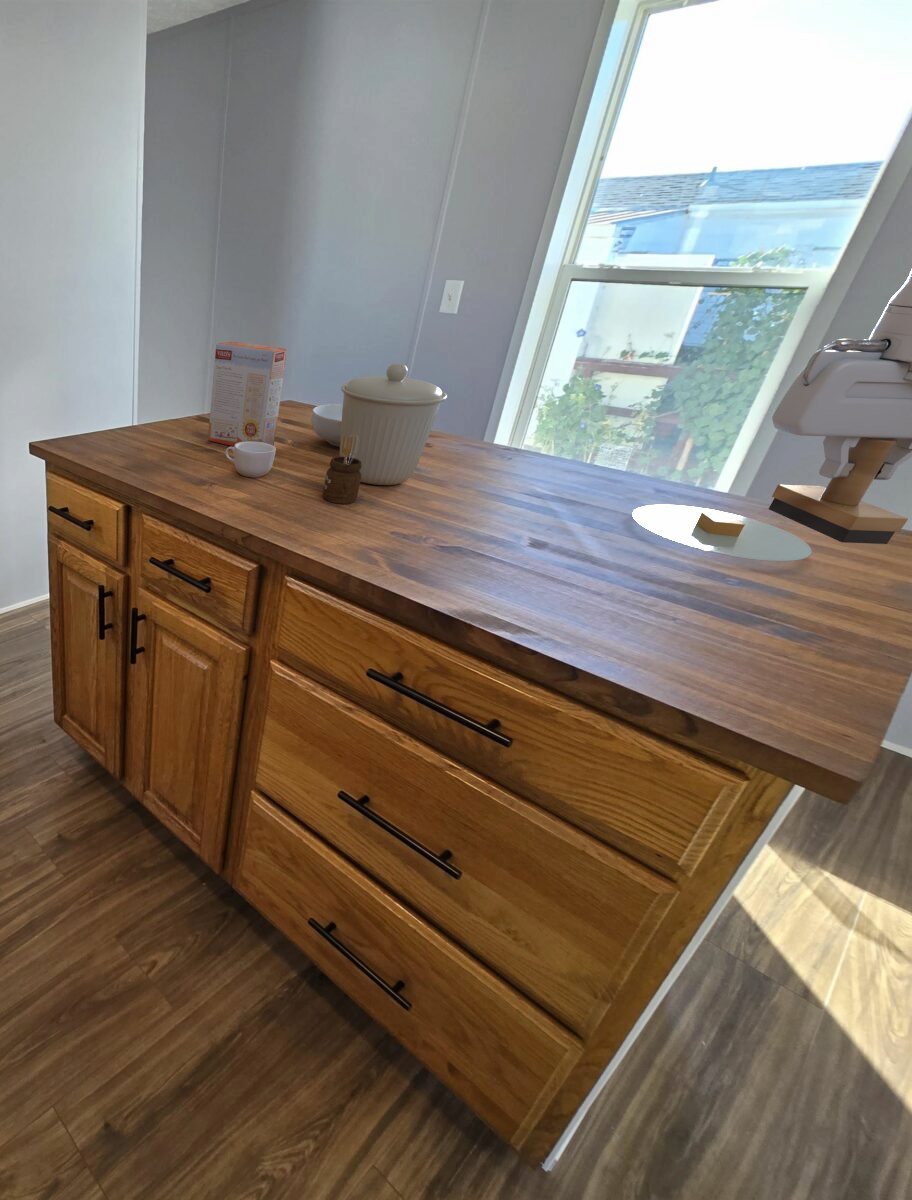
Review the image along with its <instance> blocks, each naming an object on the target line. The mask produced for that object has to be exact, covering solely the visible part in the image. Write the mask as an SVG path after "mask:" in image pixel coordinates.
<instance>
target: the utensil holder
mask: <svg viewBox="0 0 912 1200" xmlns="http://www.w3.org/2000/svg"><path fill="white" fill-rule="evenodd" d="M350 436H352V435H350ZM355 436H356V435H355ZM345 438H346V436H344V438H343V445H342V451H341V452H342V453H343V454H344V457H342V456H341V457H340V456H334V457H332V458H331V460H330V462H329V467H328V469H327V471H326V473H325V476H324V477H325V478H324V483H323V488H322V489H323V490H322V497H323V499H324V500H325V501H327V502H330V503H333V504H339V505H349V504H350V505H351V504H353V503H355V502H356V501H357V498H358V495H359V491H360V485H361V482H360V481H361V473H360V471H359V470H360V469H361V466H362V463H361V461H360V460H358V459H355V458H352V457H347V455H348V454H350V453H351V451H352V447H353V445H352V443H353V442H354V441H353V437H351V443H350V448H348V444H349V439H350V437H349V436H348V438H347V439H346V440H347V444H346V448H344V447H345V446H344V445H345V443H346V442H345ZM356 438H358V436H357V437H356ZM359 442H360V440H359ZM356 445H358V444H357V443H356ZM358 448H359V447H358ZM355 449H356V448H355ZM356 450H357V449H356ZM354 453H356V452H354ZM356 454H357V453H356ZM350 455H351V454H350ZM354 455H355V454H354ZM355 456H356V455H355ZM353 457H354V456H353Z"/></svg>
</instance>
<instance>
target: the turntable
mask: <svg viewBox="0 0 912 1200" xmlns="http://www.w3.org/2000/svg"><path fill="white" fill-rule="evenodd" d="M702 512H703V513H713V514H724V515H731V516H733V517H734V518H736V519H737V520H739V521H740V522H742V523H743V524H745V525H744V527H743V529H742V531H741V533H740V535H739V536H729V535H719V534H709V533H707V532H706V531H705V530H703V529H702V528H701V527H699V526H698V525H697V524H696V523H697V521H698V519H699V517H700V515H701V513H702ZM631 517H632V519H633V520H634V522H636V523H637V524H638V525H639V526H641V527H642V528H644V529H646V530H647V531H649V532H651V533H653V534H656V535H657V536H660V537H662V538H665V539H667V540H670V541H672V542H675V543H678V544H682V545H685V546H688V547H691V548H693V549H694V548H695V549H698V550H702V551H705V552H710V553H714V554H719V555H723V556H729V557H735V558H741V559H747V560H756V561H766V562H792V561H793V562H794V561H800V560H804V559H807V558H809V557H810V556H811V555H812V552H813V551H812V547H810V545H809V544H808V543H807V542H806V541H804V540H803V539H802V538H800V537H798V536H796V535H794V534H793V533H790V532H789V531H787V530H783V529H781V528H779V527H777V526H774V525H771V524H768V523H766V522H763V521H761V520H757V519H752V518H749V517H746V516H742V515H737V514H734V513H729V512H724V511H720V510H717V509H716V510H715V509H710V508H703V507H698V506H688V505H678V504H677V505H676V504H651V505H644V506H639V507H637V508H635V509H633V511H632V512H631Z"/></svg>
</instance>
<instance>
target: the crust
mask: <svg viewBox="0 0 912 1200" xmlns="http://www.w3.org/2000/svg"><path fill="white" fill-rule="evenodd" d="M696 524H697V525H698V526H699V527H701V528H702V529H703V530H705V531H706V532H707V533H709V534H719V535H729V536H739V535H740V533H741V531H742V529H743V527H744V525H745V524H743V523H742V522H740V521H739V520H737V519H736V518H734V517H733V516H731V515H724V514H713V513H703V512H702V513H701V515H700V517H699V519H698V521H697V523H696Z"/></svg>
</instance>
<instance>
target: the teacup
mask: <svg viewBox="0 0 912 1200" xmlns="http://www.w3.org/2000/svg"><path fill="white" fill-rule="evenodd" d="M229 450H231V451H232V453H233V458H232V457H230V456H229V454H228V453H229ZM276 451H277V448H276V446H275V445H274V446H273V445H270V444H267V443H262V442H253V441H246V442H239V443H236V444H235V447H233V446H229V447H226V448H225V451H224V455H225V457H226V459H227V460H228V461H230V462H231V463H233V465H234V468H235V470H236V471H237V473H239V474H240V475H241V476H243V477H246V478H253V479H255V478H262V477H263V476H265V475H267V474H268V473H269V472H270V471H271V469H272V467H273V465H274V461H275V457H276Z"/></svg>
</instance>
